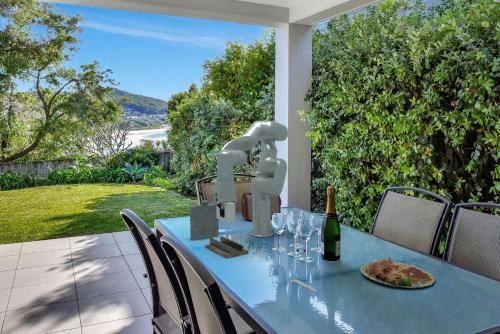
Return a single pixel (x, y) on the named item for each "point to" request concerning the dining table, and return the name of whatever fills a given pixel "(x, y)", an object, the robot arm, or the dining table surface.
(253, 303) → the dining table surface
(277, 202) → the handbag
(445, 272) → the dining table surface
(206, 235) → the hip flask
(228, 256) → the track
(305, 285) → the butter knife
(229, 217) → the door panel
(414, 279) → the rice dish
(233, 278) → the dining table surface
